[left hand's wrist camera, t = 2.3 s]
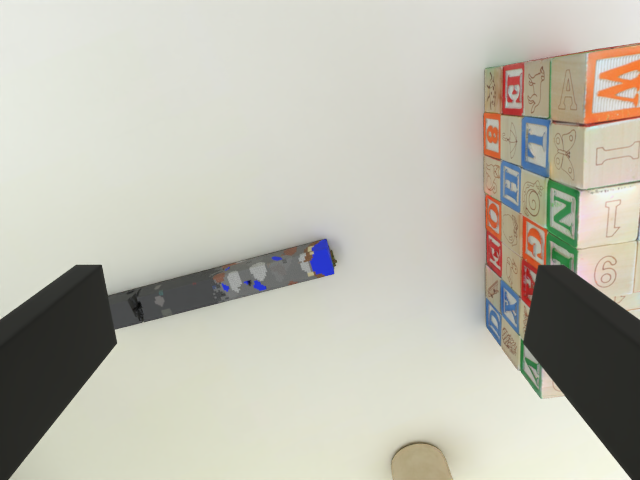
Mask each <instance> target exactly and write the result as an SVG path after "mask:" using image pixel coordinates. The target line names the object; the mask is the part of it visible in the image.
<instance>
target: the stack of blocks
mask: <svg viewBox="0 0 640 480" xmlns="http://www.w3.org/2000/svg"><path fill="white" fill-rule="evenodd" d="M484 192H485V194H486V198H485V201H486V229H487V240H486V243H487V264H486V266H485V271H486V326H487V328H488V330H489V331H490V332H491V334H492V335H493V337H494V338H495V339H496V341H497V342H498V344H499V345H500V346H501V347H502V350H503V351H504V352H505V354H506V355H507V356H508V358H509V359H510V361H511V362H512V363H513V365H514V366H515V367H516V369H517V370H519V371H521V373H522V374H523V376H524V377H525V378H526V380H527V381H528V382H529V383H530V385H531V386H532V388H533V389H534V391H535V392H536V393H537V394H538V396H539V397H540V398H541V399H544V398H553V397H561V396H565V395H564V394H563V393H562V392H561V390H560V389H559V388H558V387H557V385H556V384H555V383H554V382H553V380H552V379H551V378H550V377H549V375H548V374H547V373H546V372H545V370H544V369H543V368H542V367H541V365H540V364H539V363H538V361H537V360H536V359H535V358H534V356H533V355H532V354H531V353H530V351H529V350H528V349H527V348H526V346H525V345H524V344H523V340H524V335H525V330H526V325H527V320H528V315H529V310H530V305H531V299H532V294H533V289H534V284H535V279H536V274H537V269H538V265H565V266H566V267H567V268H569V269H570V270H572V271H573V272H574V273H576V274H577V275H579V276H580V277H581V278H583V279H584V280H585V281H587V282H588V283H590V284H591V285H592V286H594V287H595V288H597V289H598V290H599V291H601V292H602V293H603V294H605V295H606V296H608V297H609V298H610V299H612V300H613V301H615V302H616V303H617V304H619V305H620V306H621V307H623V308H624V309H626V310H627V311H628V312H630V313H631V314H632V315H634V316H635V317H637V318H638V319H639V320H640V43H635V44H629V45H623V46H616V47H609V48H602V49H595V50H590V51H584V52H579V53H573V54H567V55H561V56H555V57H549V58H544V59H538V60H531V61H527V62H521V63H515V64H510V65H505V66H498V67H491V68H486V69H485V113H484Z"/></svg>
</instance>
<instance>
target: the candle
mask: <svg viewBox="0 0 640 480" xmlns="http://www.w3.org/2000/svg"><path fill="white" fill-rule="evenodd" d="M391 470H392V476H393V480H453V478H452V476H451V473H450V470H449V467H448V465H447V462H446V459H445V457H444V455H443V454H442V452H441V451H440V450H439V449H437V448H436V447H434V446H432V445H428V444H413V445H409V446H407V447H404V448H403V449H401V450H400V451H399V452H397V454H396V455H395V456H394V458H393V460H392V464H391Z"/></svg>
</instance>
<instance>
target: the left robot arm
mask: <svg viewBox="0 0 640 480" xmlns="http://www.w3.org/2000/svg"><path fill="white" fill-rule="evenodd" d="M116 344H117V340H116V335H115V330H114V325H113V320H112V315H111V310H110V305H109V299H108V294H107V289H106V284H105V279H104V274H103V269H102V265H75V266H74V267H73V268H71V269H70V270H68V271H67V272H66V273H64V274H63V275H61V276H60V277H59V278H57V279H56V280H55V281H53V282H52V283H50V284H49V285H48V286H46V287H45V288H43V289H42V290H41V291H39V292H38V293H37V294H35V295H34V296H32V297H31V298H30V299H28V300H27V301H25V302H24V303H23V304H21V305H20V306H19V307H17V308H16V309H14V310H13V311H12V312H10V313H9V314H8V315H6V316H5V317H3V318H2V319H1V320H0V480H8V479H9V478H10V477H11V476H12V474H13V473H14V472H15V471H16V469H17V468H18V467H19V466H20V464H21V463H22V462H23V461H24V459H25V458H26V457H27V456H28V454H29V453H30V452H31V451H32V449H33V448H34V447H35V446H36V444H37V443H38V442H39V441H40V439H41V438H42V437H43V435H44V434H45V433H46V432H47V430H48V429H49V428H50V427H51V425H52V424H53V423H54V422H55V420H56V419H57V418H58V417H59V415H60V414H61V413H62V412H63V410H64V409H65V408H66V407H67V405H68V404H69V403H70V402H71V400H72V399H73V398H74V397H75V395H76V394H77V393H78V392H79V390H80V389H81V388H82V387H83V385H84V384H85V383H86V382H87V380H88V379H89V378H90V377H91V375H92V374H93V373H94V372H95V370H96V369H97V368H98V367H99V365H100V364H101V363H102V361H103V360H104V359H105V358H106V356H107V355H108V354H109V353H110V351H111V350H112V349H113V348H114V346H115V345H116ZM523 344H524V345H525V346H526V348H527V349H528V350H529V351H530V353H531V354H532V355H533V356H534V358H535V359H536V360H537V361H538V363H539V364H540V365H541V367H542V368H543V369H544V370H545V372H546V373H547V374H548V375H549V377H550V378H551V379H552V380H553V382H554V383H555V384H556V385H557V387H558V388H559V389H560V390H561V392H562V393H563V394H564V395H565V397H566V398H567V399H568V400H569V402H570V403H571V404H572V405H573V407H574V408H575V409H576V410H577V412H578V413H579V414H580V415H581V417H582V418H583V419H584V420H585V422H586V423H587V424H588V425H589V427H590V428H591V429H592V430H593V432H594V433H595V434H596V435H597V437H598V438H599V439H600V441H601V442H602V443H603V444H604V446H605V447H606V448H607V449H608V451H609V452H610V453H611V454H612V456H613V457H614V458H615V459H616V461H617V462H618V463H619V464H620V466H621V467H622V468H623V469H624V471H625V472H626V473H627V474H628V476H629V477H630V478H631V479H632V480H640V320H639V319H638V318H637V317H635V316H634V315H632V314H631V313H630V312H628V311H627V310H626V309H624V308H623V307H621V306H620V305H619V304H617V303H616V302H615V301H613V300H612V299H610V298H609V297H608V296H606V295H605V294H603V293H602V292H601V291H599V290H598V289H597V288H595V287H594V286H592V285H591V284H590V283H588V282H587V281H585V280H584V279H583V278H581V277H580V276H579V275H577V274H576V273H574V272H573V271H572V270H570V269H569V268H567V267H566V266H565V265H538V269H537V274H536V279H535V284H534V289H533V294H532V299H531V305H530V310H529V315H528V320H527V325H526V330H525V335H524V340H523Z"/></svg>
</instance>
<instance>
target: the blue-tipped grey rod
mask: <svg viewBox="0 0 640 480" xmlns="http://www.w3.org/2000/svg"><path fill="white" fill-rule="evenodd" d="M336 262H337V260H335V259H334V256H333V252H332V251H330V249H329V246H328V243H327V240H326V239H324V240H320V241H316V242H312V243H309V244H305V245H301V246H297V247H293V248H289V249H286V250H282V251H278V252H274V253H270V254H267V255H263V256H259V257H255V258H251V259H247V260H244V261H240V262H236V263H232V264H228V265H224V266H221V267H217V268H213V269H209V270H205V271H201V272H198V273H194V274H190V275H186V276H182V277H179V278H175V279H171V280H167V281H163V282H159V283H156V284H152V285H148V286H144V287H140V288H136V289H133V290H129V291H125V292H121V293H117V294H113V295H110V296H108V299H109V305H110V310H111V315H112V320H113V325H114V330H115V329H119V328H123V327H127V326H131V325H135V324H139V323H142V322H143V321H144V322H147V321H151V320H155V319H159V318H162V317H166V316H170V315H174V314H178V313H182V312H186V311H190V310H194V309H198V308H202V307H206V306H210V305H214V304H218V303H222V302H225V301H229V300H233V299H237V298H241V297H245V296H249V295H253V294H257V293H261V292H265V291H269V290H273V289H277V288H281V287H285V286H288V285H292V284H296V283H300V282H304V281H308V280H312V279H316V278H320V277H324V276H328V275H332V274H334V266H336V264H335V263H336Z"/></svg>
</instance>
